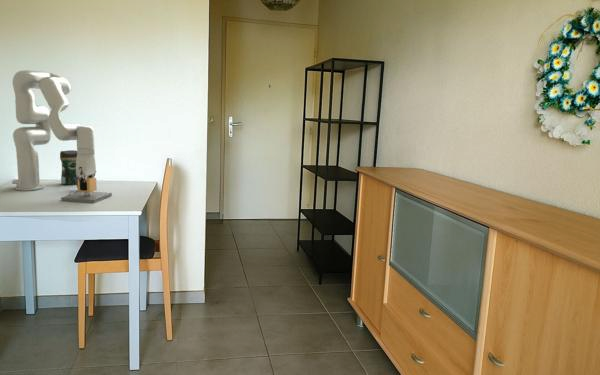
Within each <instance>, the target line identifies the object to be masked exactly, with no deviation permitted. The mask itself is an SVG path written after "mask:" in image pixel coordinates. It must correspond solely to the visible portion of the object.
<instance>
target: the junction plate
mask: <svg viewBox="0 0 600 375" xmlns="http://www.w3.org/2000/svg"><path fill="white" fill-rule="evenodd" d="M112 196H113V192H103V191H93V192H78V191H76V192H73V193H70V194H67V195H65V196H64V195H63V196H61V197H60V199H61V200H60V201H62V202H76V203H90V204H95V203H97V202H100V201H102V200H105V199H107V198H110V197H112Z"/></svg>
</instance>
